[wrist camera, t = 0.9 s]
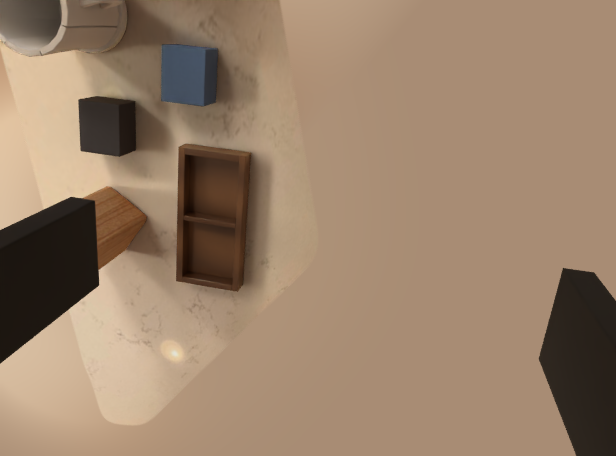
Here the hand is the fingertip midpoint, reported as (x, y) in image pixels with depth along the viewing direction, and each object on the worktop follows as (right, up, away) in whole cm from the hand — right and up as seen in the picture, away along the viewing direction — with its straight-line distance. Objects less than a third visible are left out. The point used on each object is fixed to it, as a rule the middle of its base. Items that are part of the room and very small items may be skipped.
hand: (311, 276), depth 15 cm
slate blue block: (-13, +19, +48) cm, 53 cm away
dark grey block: (-23, +14, +52) cm, 59 cm away
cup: (-24, +27, +48) cm, 60 cm away
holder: (-12, +3, +53) cm, 55 cm away
